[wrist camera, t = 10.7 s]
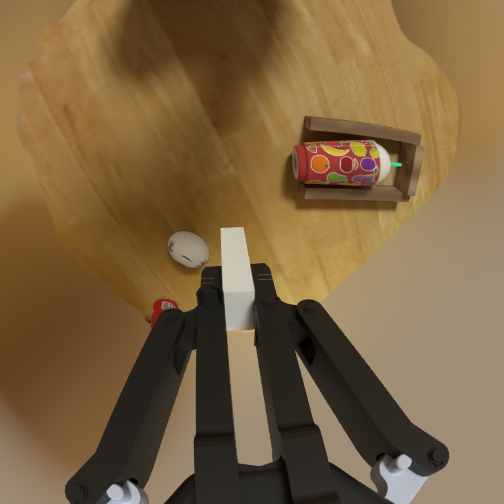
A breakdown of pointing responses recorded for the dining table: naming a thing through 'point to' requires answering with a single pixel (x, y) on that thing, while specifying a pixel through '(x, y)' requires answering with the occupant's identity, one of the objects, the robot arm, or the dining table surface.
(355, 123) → the u rest
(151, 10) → the dining table surface
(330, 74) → the dining table surface
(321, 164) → the smoothie
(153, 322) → the beverage can
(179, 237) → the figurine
